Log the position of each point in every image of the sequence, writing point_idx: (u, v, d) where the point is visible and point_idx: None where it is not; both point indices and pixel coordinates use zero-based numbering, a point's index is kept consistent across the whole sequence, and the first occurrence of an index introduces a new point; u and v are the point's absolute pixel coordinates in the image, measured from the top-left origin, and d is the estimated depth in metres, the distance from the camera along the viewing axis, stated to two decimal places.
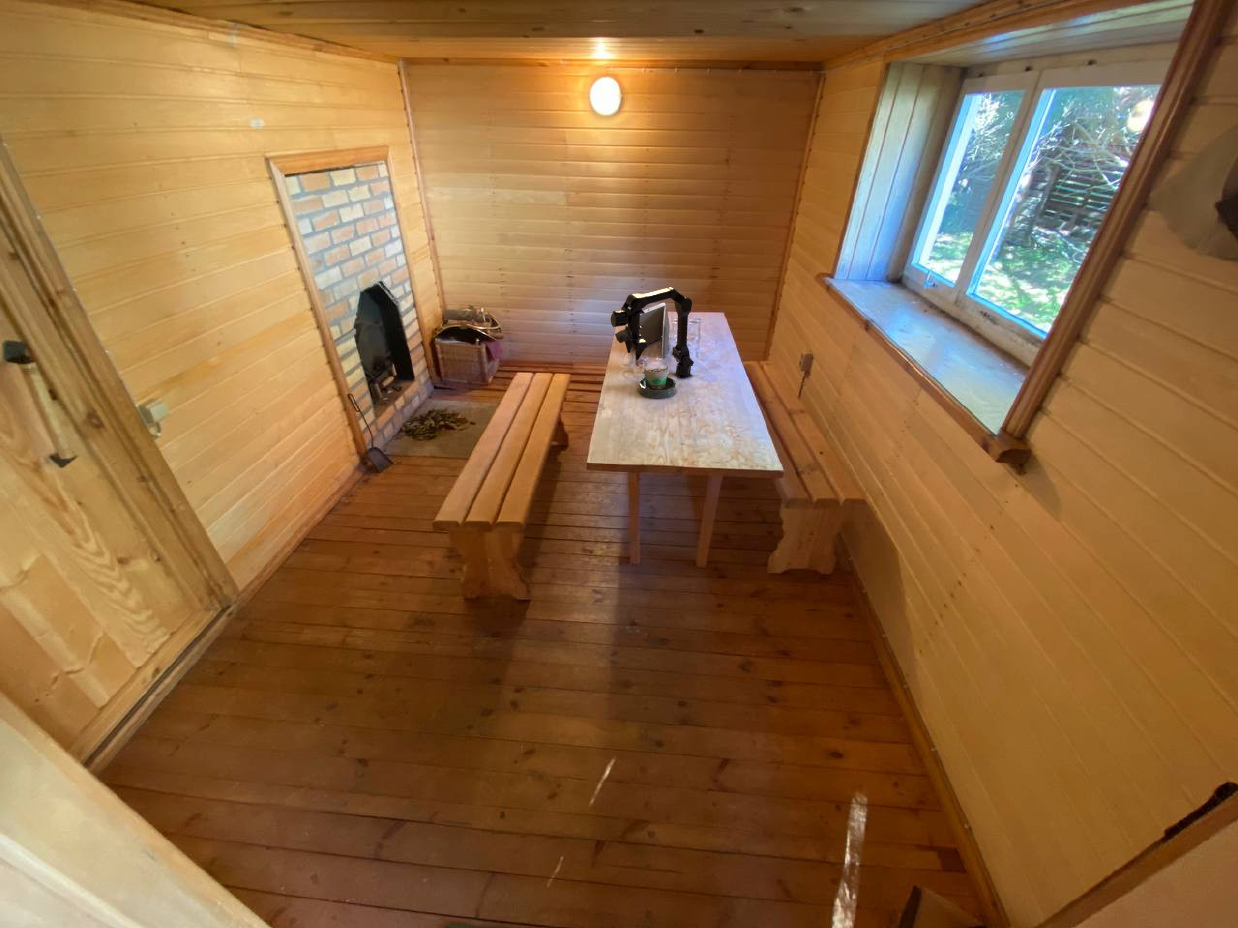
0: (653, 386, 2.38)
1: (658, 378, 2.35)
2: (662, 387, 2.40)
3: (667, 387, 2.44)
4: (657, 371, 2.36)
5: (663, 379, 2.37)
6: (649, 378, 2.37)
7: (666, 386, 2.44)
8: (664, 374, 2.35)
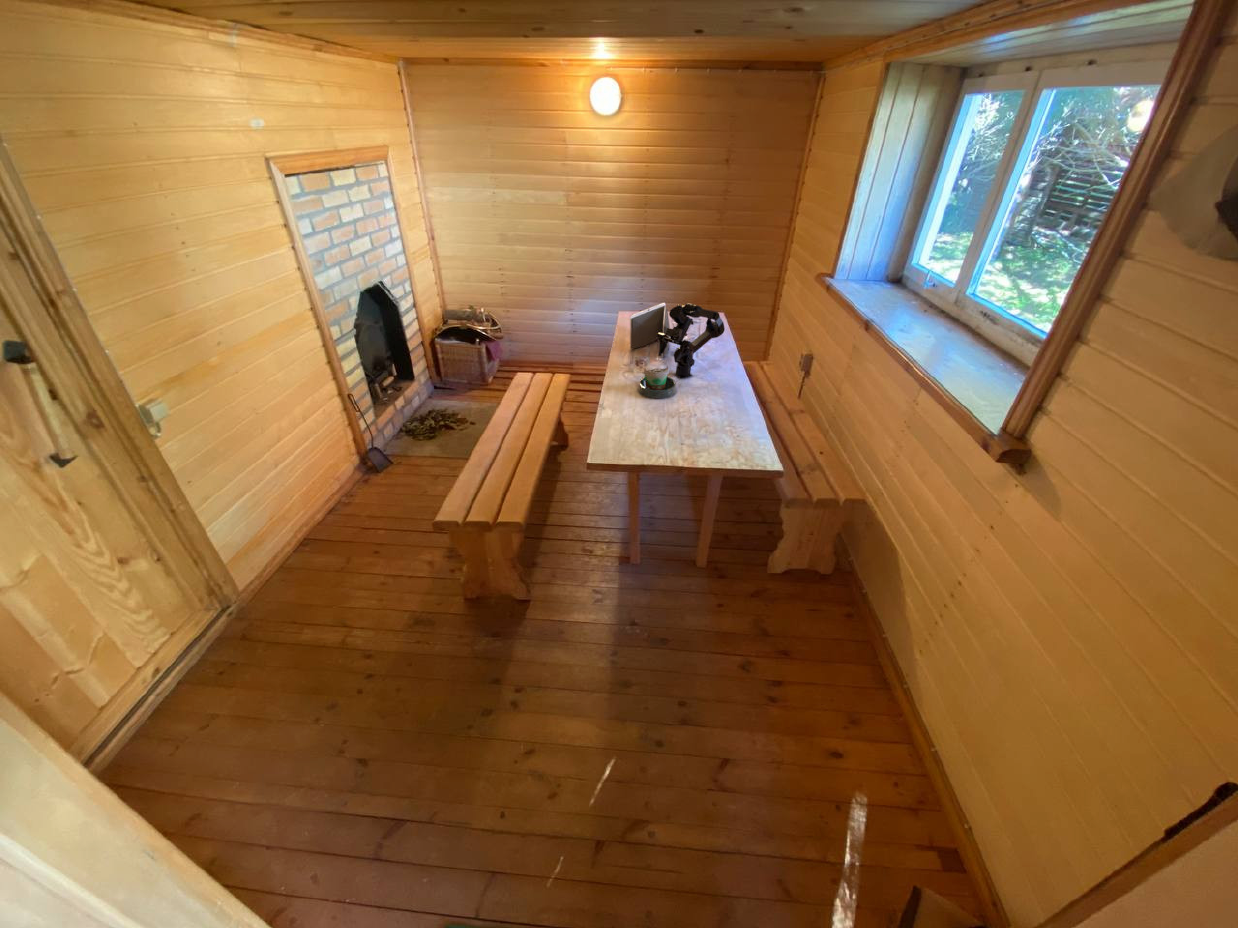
0: (653, 386, 2.38)
1: (658, 378, 2.35)
2: (662, 387, 2.40)
3: (667, 387, 2.44)
4: (657, 371, 2.36)
5: (663, 379, 2.37)
6: (649, 378, 2.37)
7: (666, 386, 2.44)
8: (664, 374, 2.35)
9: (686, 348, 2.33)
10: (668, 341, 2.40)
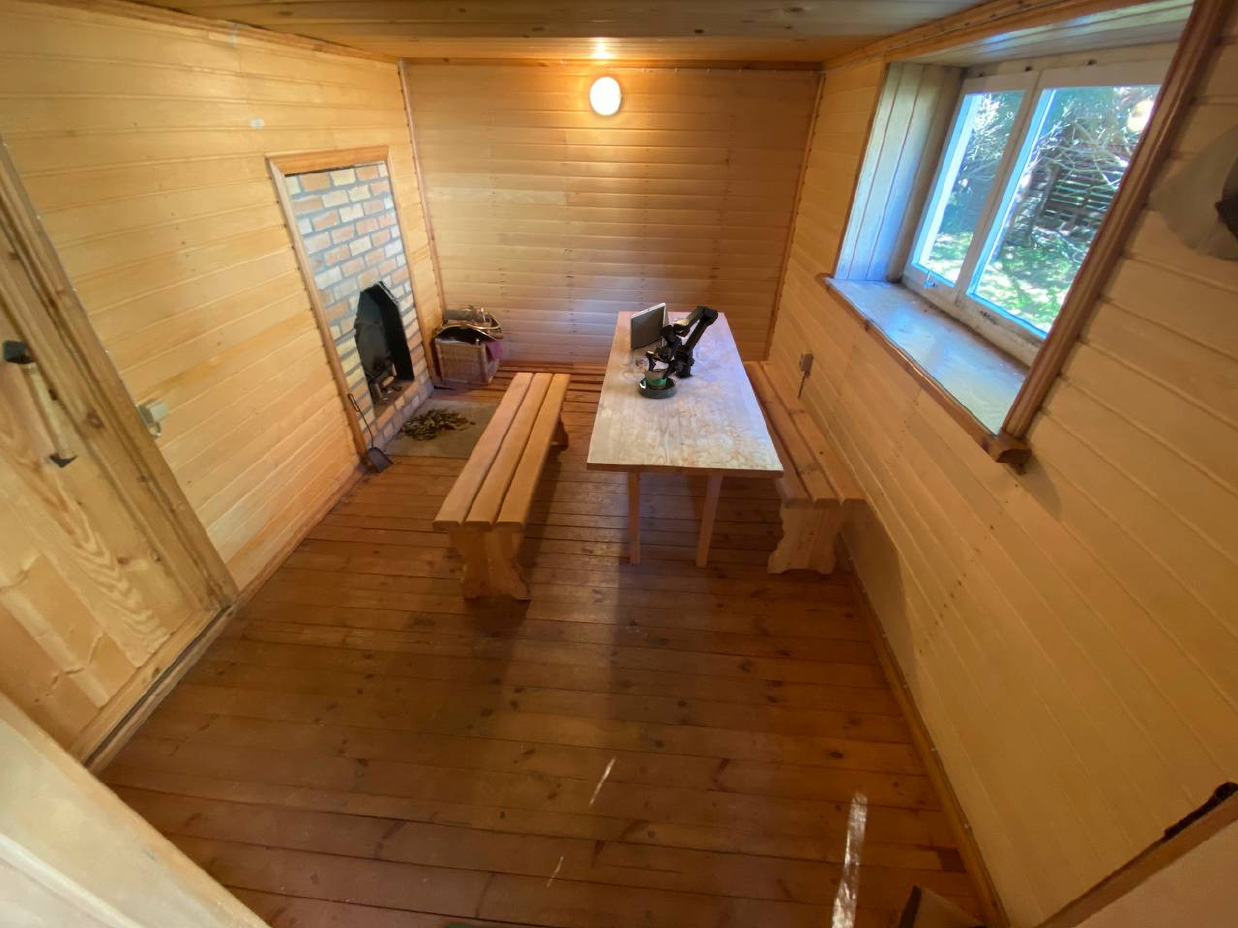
0: (653, 386, 2.38)
1: (658, 379, 2.35)
2: (662, 387, 2.40)
3: (667, 387, 2.44)
4: (657, 371, 2.36)
5: None
6: (649, 379, 2.36)
7: (666, 386, 2.44)
8: None
9: (674, 367, 2.31)
10: (657, 360, 2.38)
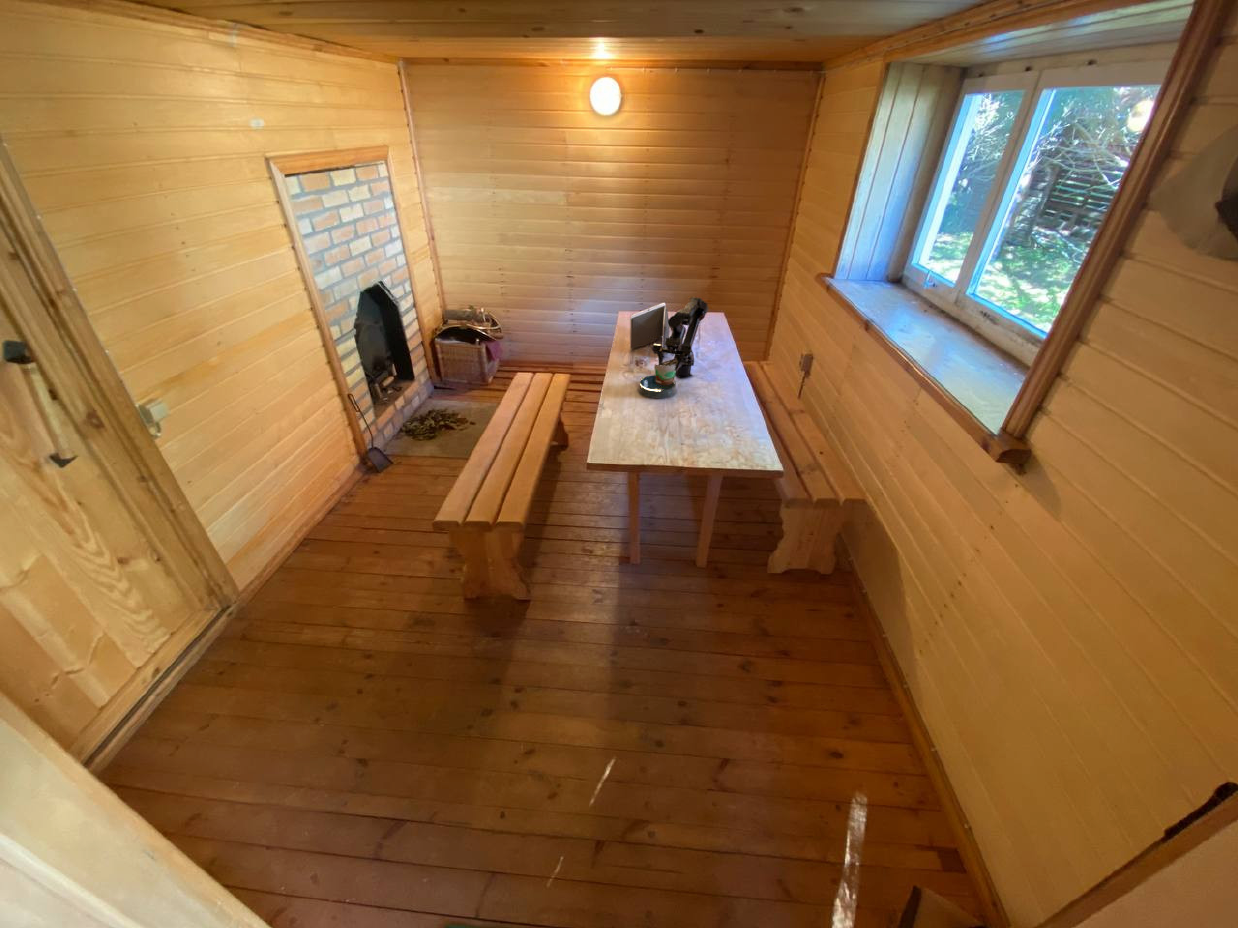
0: (665, 380, 2.30)
1: (671, 371, 2.28)
2: (673, 379, 2.33)
3: (667, 387, 2.44)
4: (668, 364, 2.28)
5: (674, 371, 2.30)
6: (661, 373, 2.28)
7: (666, 386, 2.44)
8: None
9: (686, 357, 2.26)
10: (665, 352, 2.31)
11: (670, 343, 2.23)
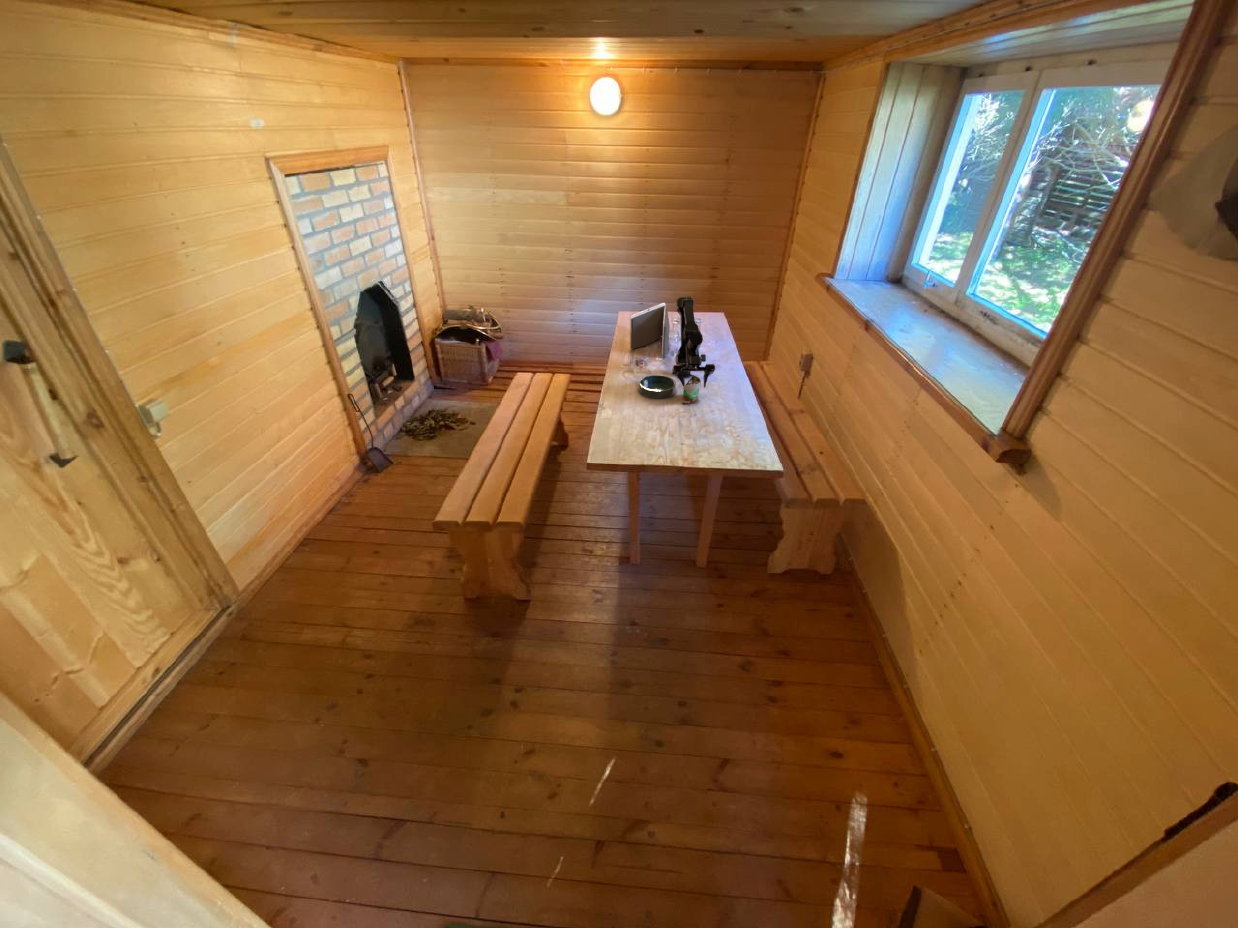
0: (694, 398, 2.29)
1: (698, 388, 2.28)
2: None
3: (667, 387, 2.44)
4: (693, 382, 2.28)
5: None
6: (691, 392, 2.26)
7: (666, 386, 2.44)
8: (700, 382, 2.29)
9: (712, 371, 2.27)
10: (686, 370, 2.28)
11: (697, 361, 2.21)
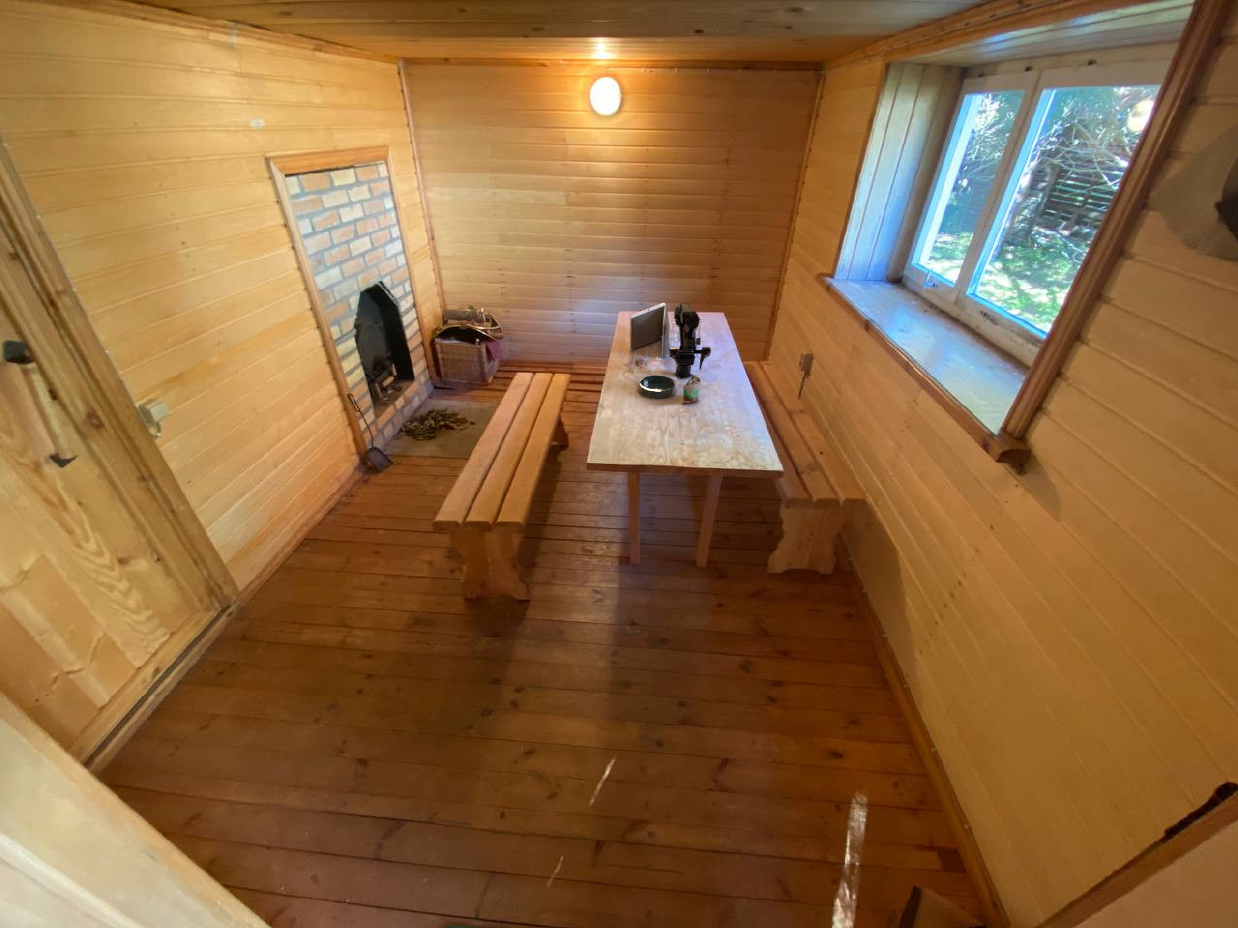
0: (694, 398, 2.29)
1: (698, 388, 2.28)
2: None
3: (667, 387, 2.44)
4: (693, 382, 2.28)
5: None
6: (691, 392, 2.26)
7: (666, 386, 2.44)
8: (700, 382, 2.29)
9: (707, 354, 2.32)
10: (682, 353, 2.34)
11: (691, 344, 2.26)
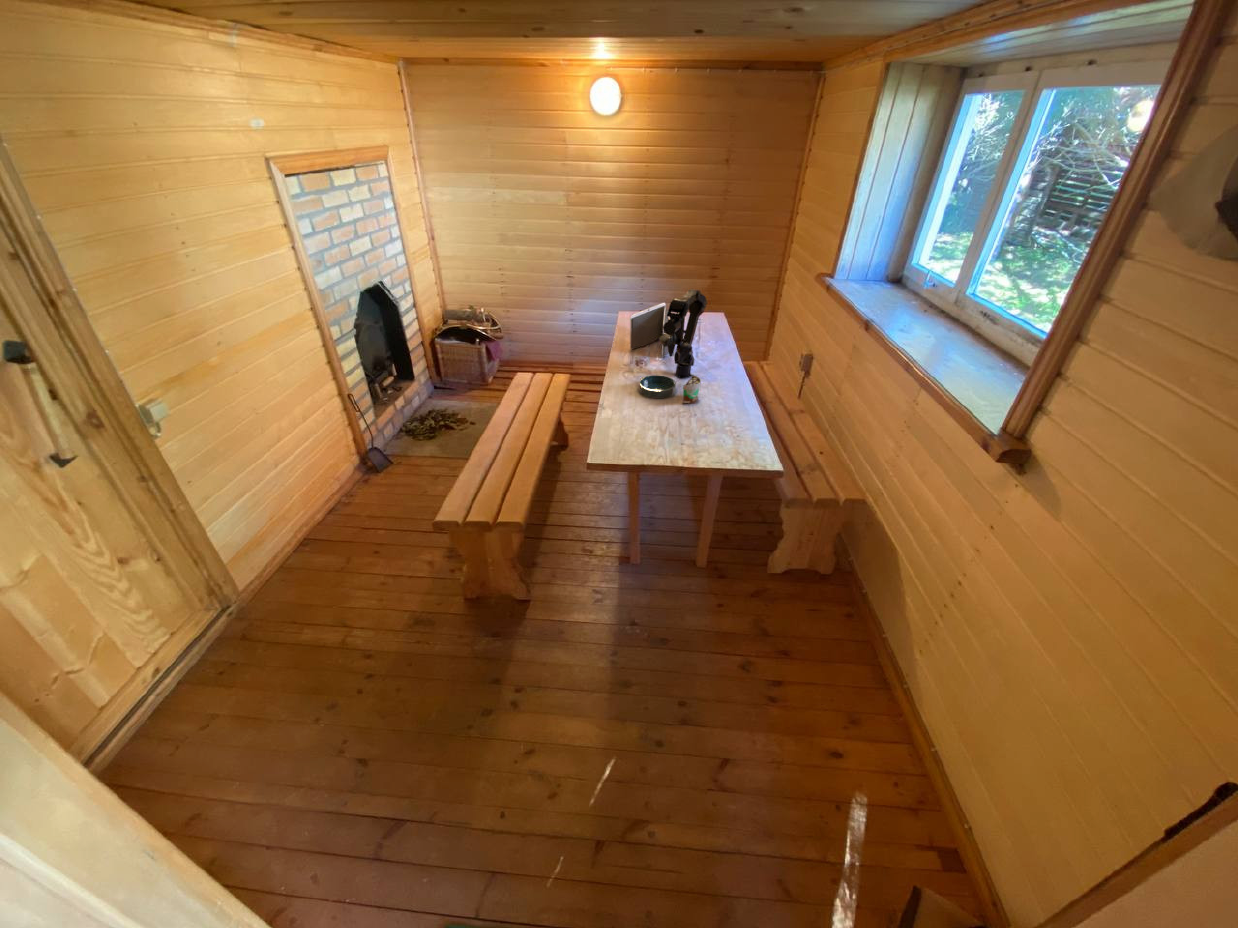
0: (694, 398, 2.29)
1: (698, 388, 2.28)
2: None
3: (667, 387, 2.44)
4: (693, 382, 2.28)
5: None
6: (691, 392, 2.26)
7: (666, 386, 2.44)
8: (700, 382, 2.29)
9: (682, 353, 2.29)
10: None
11: (662, 344, 2.31)
